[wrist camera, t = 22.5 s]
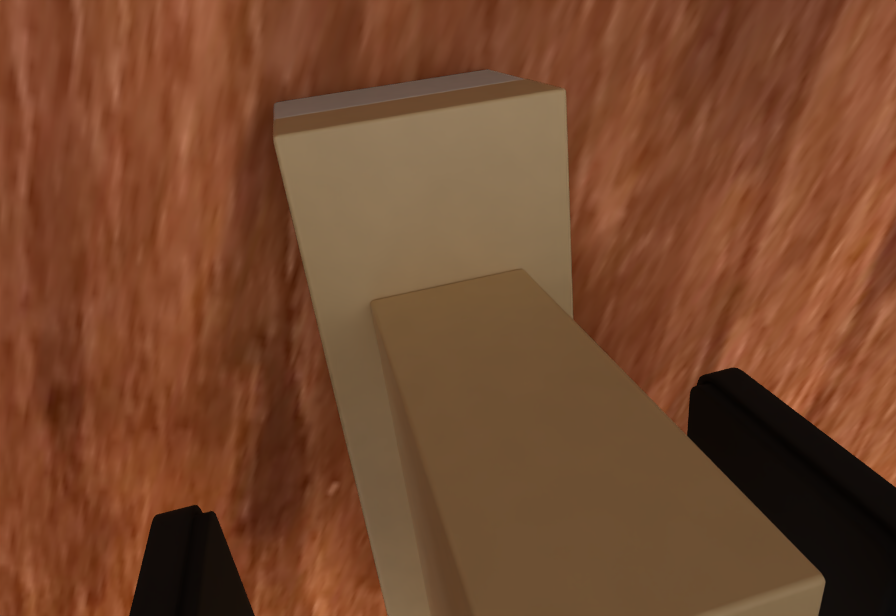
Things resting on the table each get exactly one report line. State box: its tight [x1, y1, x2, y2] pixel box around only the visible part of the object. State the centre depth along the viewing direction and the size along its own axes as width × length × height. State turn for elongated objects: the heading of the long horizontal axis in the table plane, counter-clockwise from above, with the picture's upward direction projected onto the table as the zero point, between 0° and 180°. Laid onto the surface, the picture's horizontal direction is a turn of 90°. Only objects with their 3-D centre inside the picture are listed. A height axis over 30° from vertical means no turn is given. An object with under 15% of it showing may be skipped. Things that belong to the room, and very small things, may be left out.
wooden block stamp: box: [273, 69, 826, 616], centre depth 10 cm, size 4×12×10 cm, turn 7°
